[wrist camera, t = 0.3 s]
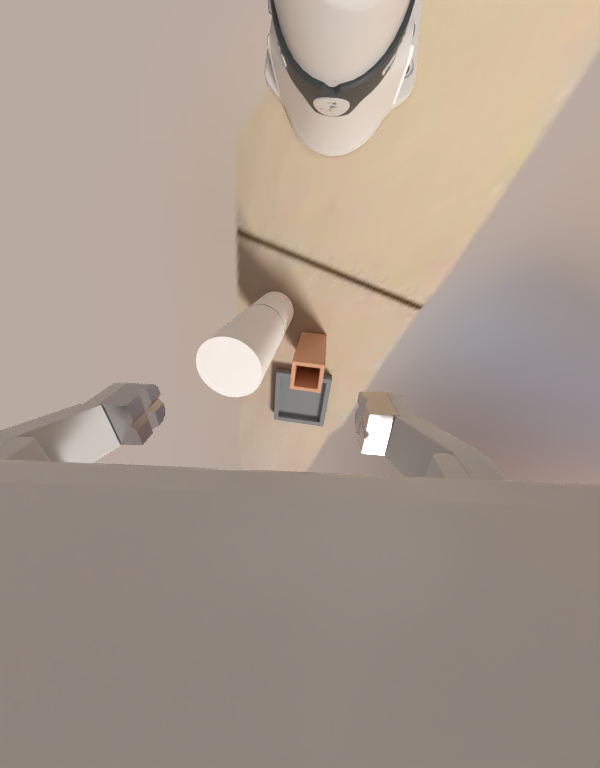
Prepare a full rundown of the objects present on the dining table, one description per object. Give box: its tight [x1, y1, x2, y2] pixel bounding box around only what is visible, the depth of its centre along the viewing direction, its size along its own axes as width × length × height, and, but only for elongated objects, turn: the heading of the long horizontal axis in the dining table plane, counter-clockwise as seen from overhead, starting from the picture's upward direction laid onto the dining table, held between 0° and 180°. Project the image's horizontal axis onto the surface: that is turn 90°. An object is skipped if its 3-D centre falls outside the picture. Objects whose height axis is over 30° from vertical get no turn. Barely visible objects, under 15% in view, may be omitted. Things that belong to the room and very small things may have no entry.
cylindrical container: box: [196, 291, 294, 397], centre depth 36 cm, size 7×7×25 cm
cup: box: [290, 332, 326, 393], centre depth 43 cm, size 5×5×14 cm
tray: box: [274, 368, 332, 426], centre depth 55 cm, size 13×12×2 cm
